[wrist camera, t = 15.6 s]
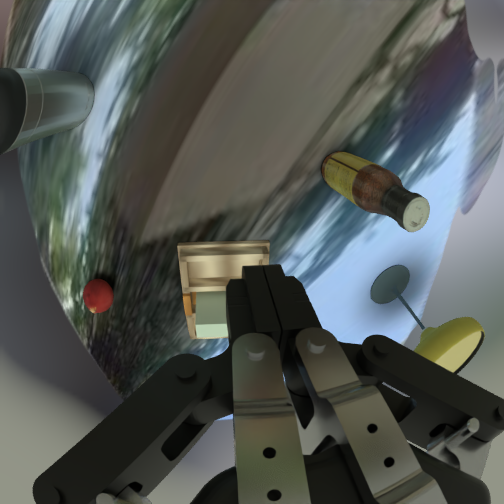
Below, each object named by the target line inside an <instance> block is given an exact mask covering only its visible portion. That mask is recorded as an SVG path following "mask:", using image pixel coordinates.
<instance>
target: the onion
mask: <svg viewBox="0 0 504 504" xmlns="http://www.w3.org/2000/svg"><path fill="white" fill-rule="evenodd" d="M113 298H114V295H113V291H112V288H111V287H110V285H109V284H108V283H107V282H106V281H104V280H102V279H94V280H91V281H90V282H89V283H88V284H87V285H86V286H85V288H84V292H83V299H84V302H85V305H86V306H87V308H88V309H89V310H91V312H92V313H100V312H103V311H106V310H107V309H108V308H109V307H110V306H111V305H112V303H113Z"/></svg>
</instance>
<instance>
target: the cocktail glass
mask: <svg viewBox="0 0 504 504" xmlns="http://www.w3.org/2000/svg"><path fill="white" fill-rule="evenodd" d="M408 282H409V271H408V269H407V268H406V267H404V266H402V265H396V266H392V267H390V268H388V269H386V270H385V271H383V272H382V273H381V274H380V275H379V276H378V277H377V279H376V280H375V282H374V283H373V285H372V288H371V298H372V300H373V301H374V302H376V303H378V304H384V303H388V302H390V301H392V300H394V299H396V298H397V297H398V298H399V299H400V300H401V302H402V303H403V304H404V305H405V307H406V308H407V309H408V311H409V312H410V313H411V314H412V316H413V317H414V318H415V320H416V321H417V323H418V324H419V325H420V327H421V328H422V332H421V340H420V343H419V344H418V346H417V347H416V348H415V350H414V352H416V353H418V354H419V355H421V356H423V357H425V358H427V359H429V360H431V361H432V362H434V363H436V364H438V365H440V366H442V367H444V368H445V369H447V370H449V371H451V372H453V373H455V374H457V373H459V371H461V370H462V369H463V368H464V367H465V366H466V365H467V364H468V363H469V362H470V360H471V359H472V358H473V357H474V355H475V354H476V353H477V351H478V350H479V348H480V346H481V345H482V343H483V340H484V337H485V333H484V330H483V328H482V326H481V325H480V324H479V323H478V322H477V321H476V320H475V319H473V318H471V317H462V318H456V319H453V320H451V321H449V322H447V323H444V324H442V325H441V326H439V327H437V328H432V327H426V328H425V327H424V326H423V325H422V323H421V322H420V320H419V319H418V318H417V316H416V315H415V314H414V312H413V311H412V310H411V308H410V307H409V305H408V304H407V303H406V301H405V300H404V299H403V297H402V296H401V293H402V292H403V291H404V290H405V288H406V286H407V284H408Z"/></svg>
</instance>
